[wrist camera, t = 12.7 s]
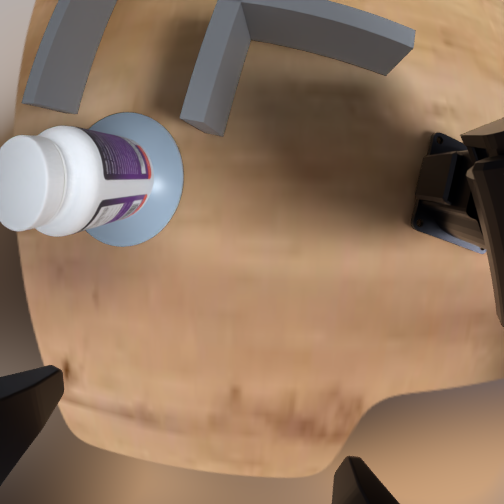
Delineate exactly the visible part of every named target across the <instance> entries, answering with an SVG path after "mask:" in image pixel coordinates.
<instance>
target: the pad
mask: <svg viewBox="0 0 504 504" xmlns="http://www.w3.org/2000/svg"><path fill="white" fill-rule="evenodd" d="M88 130H93V131H98V132H102V133H107V134H112V135H116V136H121V137H125V138H128V139H131V140H134V141H135V142H137V143H138V144H140V145H141V146H142V147H143V148H144V149H145V150H146V152H147V153H148V155H149V157H150V159H151V162H152V165H153V170H154V183H153V188H152V191H151V194H150V196H149V198H148V200H147V202H146V203H145V205H144V206H143V207H142V208H141V209H140V210H139V211H138V212H137V213H135V214H134V215H132V216H130V217H127V218H125V219H122V220H118V221H115V222H112V223H108V224H105V225H101V226H98V227H94V228H91V229H87V230H86V231H87V232H88V233H89V234H90V235H91V236H93V237H94V238H95V239H97V240H99V241H101V242H103V243H106V244H108V245H113V246H121V247H124V246H132V245H137V244H140V243H142V242H145V241H147V240H149V239H150V238H152V237H154V236H155V235H156V234H158V233H159V232H160V231H161V230H162V229H163V228H164V227H165V226H166V225H167V224H168V222H169V221H170V220H171V218H172V216H173V215H174V213H175V211H176V209H177V207H178V204H179V202H180V198H181V195H182V190H183V183H184V170H183V163H182V158H181V154H180V151H179V148H178V146H177V144H176V142H175V140H174V139H173V137H172V136H171V134H170V133H169V132H168V131H167V130H166V129H165V128H164V127H163V126H162V125H161V124H160V123H158V122H157V121H155V120H153V119H152V118H150V117H147V116H145V115H142V114H137V113H128V112H126V113H118V114H114V115H110V116H108V117H106V118H103V119H102V120H100V121H98V122H97V123H95V124H94V125H93V126H92V127H91V128H89V129H88Z"/></svg>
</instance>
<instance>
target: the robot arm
mask: <svg viewBox="0 0 504 504" xmlns="http://www.w3.org/2000/svg"><path fill="white" fill-rule="evenodd" d="M460 136H461V138H462V141H463V143H464V144H463V143H461V142H459V141H457V140H455V139H453V138H451V137H449V136H447V135H444V134H442V133H435V134H433V135H432V136H431V140H430V145H429V150H428V154H427V156H426V157H424V158H423V163H422V167H421V171H420V176H419V180H418V184H417V188H416V192H415V195H416V198H417V200H416V204H415V208H414V211H413V215H412V218H411V226H412V227H413V229H415V230H417V231H420V232H423V233H426V234H429V235H432V236H434V237H437V238H440V239H443V240H445V241H448V242H451V243H454V244H456V245H459V246H462V247H464V248H467V249H470V250H472V251H475V252H477V253H480V254H484V253H485V252H486V251H487V255H488V260H489V266H490V271H491V277H492V283H493V289H494V296H495V303H496V312H497V316H498V318H499V320H500V322H501V325H502V326H503V327H504V118H501V119H499V120H496V121H494V122H491V123H489V124H486V125H484V126H481V127H479V128H476V129H474V130H471V131H469V132H466V133H464V134H461V135H460ZM437 137H438V138H440V144H439V143H438V142H437ZM418 219H420V220H421V224H420V225H419V226H417V224H416V223H417V220H418ZM480 247H481V249H480ZM63 393H64V382H63V372H62V370H61V369H59V368H57V367H55V366H53V365H48V366H44V367H40V368H37V369H32V370H28V371H24V372H20V373H16V374H12V375H7V376H3V377H0V486H1V484H2V483H3V481H4V480H5V479H6V477H7V476H8V475H9V473H10V472H11V470H12V469H13V468H14V466H15V465H16V463H17V462H18V461H19V459H20V458H21V457H22V455H23V454H24V453H25V451H26V450H27V449H28V447H29V446H30V445H31V443H32V442H33V441H34V439H35V438H36V437H37V436H38V434H39V433H40V432H41V430H42V429H43V427H44V426H45V424H46V422H47V421H48V419H49V417H50V415H51V414H52V412H53V410H54V409H55V407H56V406H57V404H58V402H59V401H60V399H61V397H62V395H63ZM332 504H399V503H398V501H397V500H396V499H395V498H394V497H393V495H392V494H391V493H390V492H389V491H388V490H387V488H386V487H385V486H384V485H383V484H382V483H381V481H379V479H378V478H377V477H376V476H375V474H374V473H373V472H372V471H371V470H370V468H369V467H368V466H367V465H366V464H365V463H364V461H363V460H362V459H361V458H360V457H355V456H347V457H346V458H345V459H344V461H343V462H342V463H341V465H340V466H339V468H338V469H337V470H336V472H335V475H334V484H333V495H332Z"/></svg>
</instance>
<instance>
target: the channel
mask: <svg viewBox="0 0 504 504" xmlns="http://www.w3.org/2000/svg"><path fill="white" fill-rule="evenodd" d="M116 2H117V0H59V1H58V3H57V5H56V7H55V10H54V12H53V14H52V16H51V19H50V21H49V23H48V26H47V28H46V31H45V33H44V36H43V38H42V41H41V43H40V46H39V49H38V52H37V54H36V57H35V60H34V63H33V66H32V69H31V72H30V75H29V79H28V82H27V85H26V89H25V92H24V96H23V100H22V103H23V104H28V105H33V106H37V107H42V108H46V109H51V110H55V111H59V112H63V113H70V114H77V113H78V110H79V106H80V102H81V99H82V95H83V92H84V88H85V85H86V82H87V78H88V75H89V72H90V69H91V66H92V63H93V60H94V57H95V54H96V51H97V49H98V46H99V43H100V41H101V38H102V35H103V33H104V30H105V28H106V25H107V23H108V20H109V18H110V16H111V13H112V11H113V9H114V6H115V4H116ZM414 39H415V30H413V29H411V28H409V27H406V26H404V25H401V24H399V23H396V22H393V21H391V20H388V19H385V18H383V17H380V16H377V15H374V14H371V13H368V12H365V11H362V10H359V9H356V8H353V7H349V6H346V5H342V4H339V3H335V2H331V1H328V0H218V1H217V4H216V6H215V9H214V12H213V14H212V17H211V20H210V22H209V25H208V28H207V31H206V34H205V37H204V40H203V43H202V45H201V48H200V51H199V55H198V58H197V61H196V64H195V67H194V70H193V73H192V77H191V80H190V83H189V87H188V90H187V93H186V97H185V100H184V104H183V107H182V111H181V114H180V119H182V120H184V121H185V122H187V123H189V124H191V125H192V126H194V127H196V128H197V129H199V130H201V131H203V132H204V133H208V134H213V135H218V136H224V132H225V128H226V125H227V121H228V117H229V113H230V110H231V106H232V103H233V99H234V95H235V92H236V88H237V85H238V81H239V78H240V75H241V71H242V68H243V64H244V61H245V58H246V54H247V51H248V48H249V45H250V41H251V40H255V41H261V42H266V43H272V44H277V45H281V46H286V47H291V48H295V49H299V50H303V51H307V52H311V53H315V54H319V55H323V56H326V57H330V58H333V59H337V60H340V61H344V62H347V63H350V64H353V65H356V66H359V67H362V68H365V69H368V70H371V71H374V72H377V73H380V74H382V75H385V76H386V75H387V74H388V73H389V72H390V71H391V70H392V69H393V68H394V67H395V66H396V65H397V64H398V63H399V62H400V61H401V60H402V59H403V58H404V57H405V56H406V55H407V54H408V53H409V52H410V51H411V50H412V49H413V47H414Z"/></svg>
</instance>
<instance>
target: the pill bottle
mask: <svg viewBox="0 0 504 504" xmlns="http://www.w3.org/2000/svg"><path fill="white" fill-rule="evenodd" d="M153 183H154V170H153V165H152V162H151V159H150V157H149V155H148V153H147V152H146V150H145V149H144V148H143V147H142V146H141V145H140V144H138V143H137V142H135V141H134V140H131V139H128V138H125V137H121V136H116V135H112V134H107V133H102V132H98V131H93V130H88V129H83V128H79V127H73V126H55V127H51V128H49V129H47V130H44V131H43V132H41V133H40V134H39V135H37V136H30V135H18V136H15V137H12V138H10V139H9V140H8V141H7V142H5V144H4V145H3V146H2V147H1V148H0V222H1V223H2V224H3V225H4V226H5V227H7V228H8V229H11V230H13V231H24V230H29V229H33V228H35V229H37V230H38V231H40V232H41V233H43V234H46V235H49V236H55V237H60V236H66V235H70V234H74V233H77V232H81V231H84V230H87V229H91V228H94V227H98V226H101V225H105V224H108V223H112V222H115V221H118V220H122V219H125V218H127V217H130V216H132V215H134V214H135V213H137V212H138V211H139V210H140V209H141V208H142V207H143V206H144V205H145V203H146V202H147V200H148V198H149V196H150V194H151V191H152V188H153Z"/></svg>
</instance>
